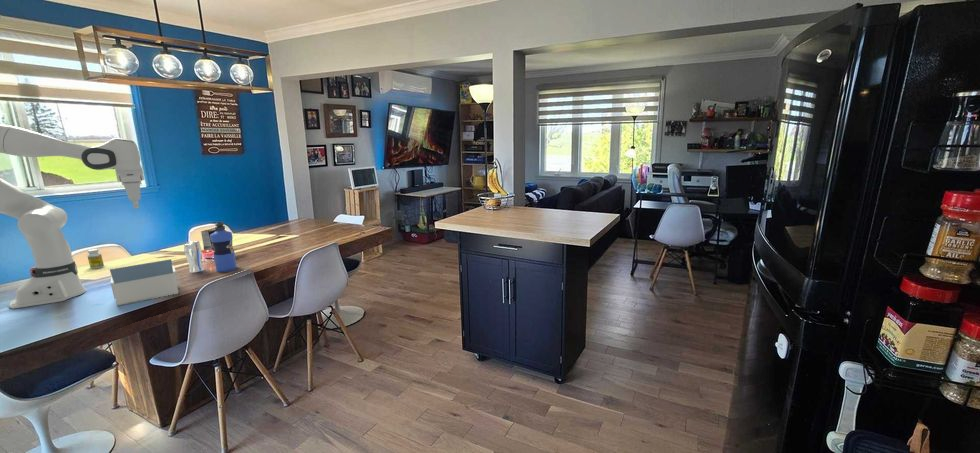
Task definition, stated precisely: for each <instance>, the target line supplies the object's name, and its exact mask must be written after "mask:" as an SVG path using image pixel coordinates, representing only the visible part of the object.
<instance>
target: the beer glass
mask: <svg viewBox="0 0 980 453" xmlns="http://www.w3.org/2000/svg"><path fill="white" fill-rule="evenodd" d="M201 246H202V245H201V243H200V241H199V240H195V241H194V240H193V241H188V242H187V241H186V242H184V243H183V251H184V255H185V258H186V260H187V263H188V267H189V268H188V269H189V271H188V272H189V273H192V274H194V273H200V272H203V271H204V270H205V269H204V267H203V263H202V259H203V258H202V257H203V256H202V255H203V254H202V253H203V251H202V247H201Z"/></svg>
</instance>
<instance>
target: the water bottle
mask: <svg viewBox="0 0 980 453" xmlns="http://www.w3.org/2000/svg"><path fill="white" fill-rule="evenodd" d="M214 228H215V230H216V231H215V232H214V233H212V234H211V235H210V238H211V242H212V245H213V248H214V259H213V260H214V264H215V270H216V272H217V273H226V272H232V271H234V270H237V268H238V265H237V261H236V260H237V258H236V255H235V254H236V253H235V250H234V247H233V233H232V231H228V230H226V227H225V223H223V222H222V221H217V222H216V223H215V224H214Z"/></svg>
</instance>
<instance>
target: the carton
mask: <svg viewBox="0 0 980 453" xmlns="http://www.w3.org/2000/svg"><path fill="white" fill-rule="evenodd" d="M172 268H173V273H171V274H165V275H160V276H154V277H149V278H143V279H138V280H132V281H127V282H121V283H116V284H114V282H113V279H112V276H110V286H111V292H112V295H113V298H114V300H115V301H116V305H117V307H120V306H121V307H122V306H126V305H130V304H136V303H139V302H145V301H149V300H156V299H158V298H159V297H160V298H164V296H165V297H168V295H169V296H173V294H174V295H178V293H180V292H179V281H178V277H177V276H178V275H177V271H176V268H175V266H174V264H172Z"/></svg>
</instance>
